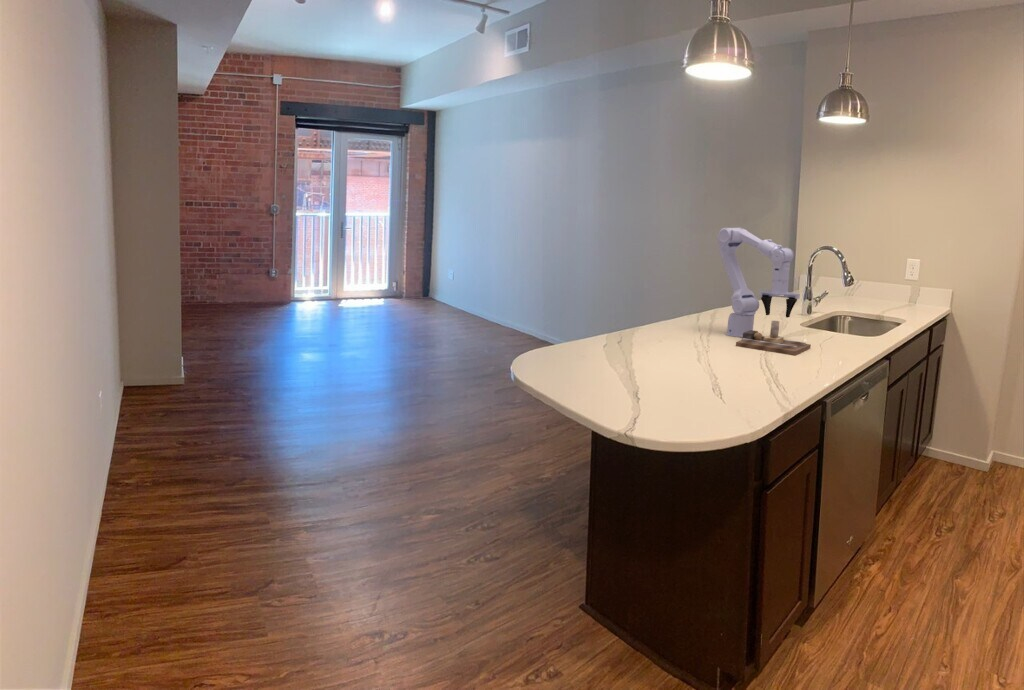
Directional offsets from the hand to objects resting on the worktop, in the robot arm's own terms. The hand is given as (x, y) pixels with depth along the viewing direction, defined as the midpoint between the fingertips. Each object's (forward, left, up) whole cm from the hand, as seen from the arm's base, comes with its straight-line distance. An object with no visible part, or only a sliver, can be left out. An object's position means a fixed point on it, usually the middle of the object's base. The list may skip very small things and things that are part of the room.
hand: (777, 316), depth 274 cm
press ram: (+2, -9, -9) cm, 12 cm away
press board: (+2, -9, -10) cm, 14 cm away
